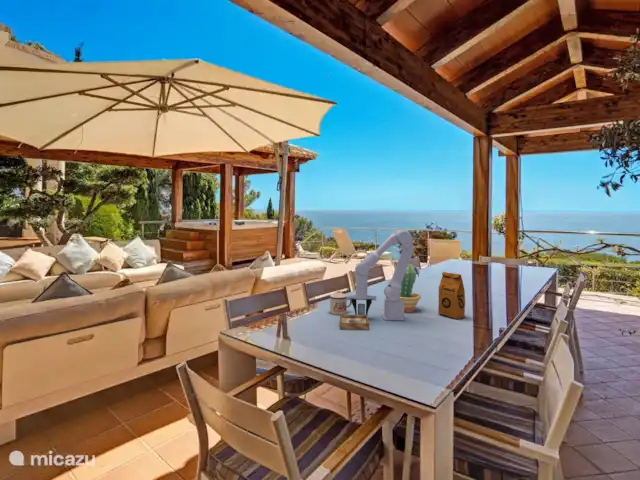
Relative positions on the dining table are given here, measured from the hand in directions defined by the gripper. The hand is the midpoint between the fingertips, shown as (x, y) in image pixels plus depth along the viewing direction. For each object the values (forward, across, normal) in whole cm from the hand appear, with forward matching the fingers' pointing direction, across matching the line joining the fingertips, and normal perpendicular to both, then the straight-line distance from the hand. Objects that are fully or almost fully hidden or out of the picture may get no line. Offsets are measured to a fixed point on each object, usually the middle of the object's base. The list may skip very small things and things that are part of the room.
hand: (361, 314), depth 183 cm
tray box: (+2, +4, +12) cm, 12 cm away
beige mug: (+2, +10, -10) cm, 14 cm away
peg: (+2, 0, 0) cm, 2 cm away
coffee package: (+2, -46, -7) cm, 47 cm away
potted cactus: (+2, -25, -18) cm, 31 cm away
